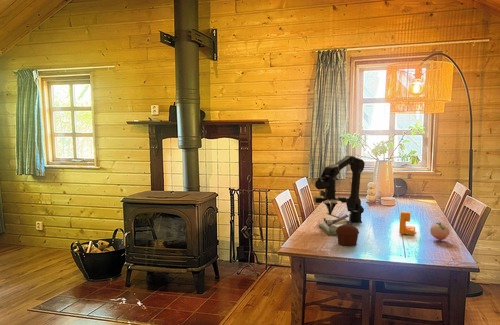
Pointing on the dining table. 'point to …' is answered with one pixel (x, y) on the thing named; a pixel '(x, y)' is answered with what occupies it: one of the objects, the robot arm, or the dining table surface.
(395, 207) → the dining table surface
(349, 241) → the muffin
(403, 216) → the bracket
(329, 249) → the dining table surface
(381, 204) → the dining table surface
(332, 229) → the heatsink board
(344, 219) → the strap
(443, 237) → the decorative fruit
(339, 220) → the strap
